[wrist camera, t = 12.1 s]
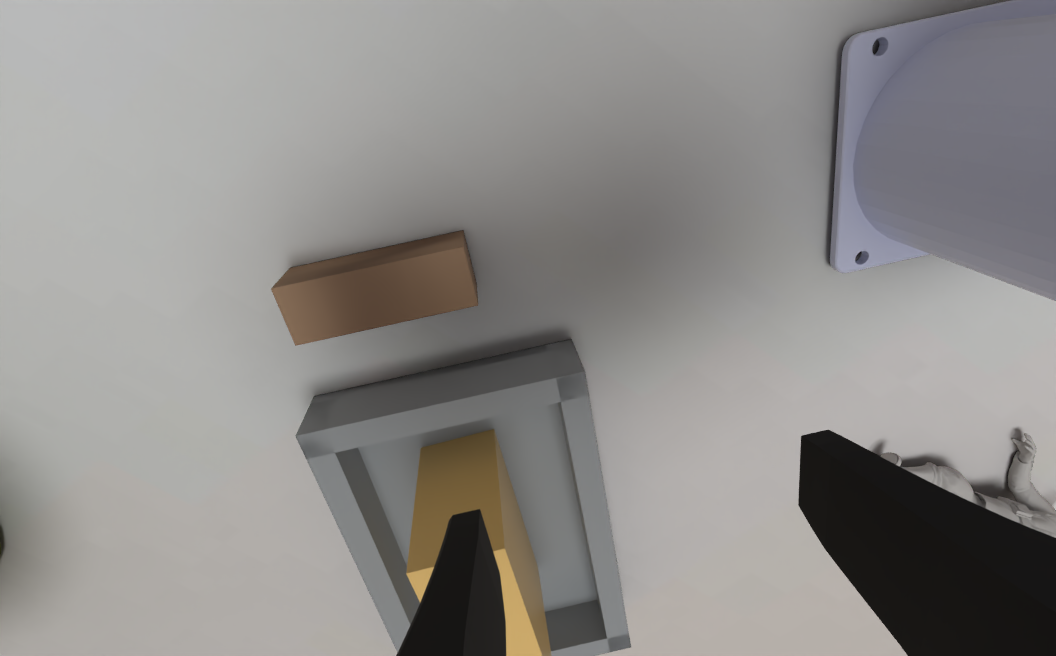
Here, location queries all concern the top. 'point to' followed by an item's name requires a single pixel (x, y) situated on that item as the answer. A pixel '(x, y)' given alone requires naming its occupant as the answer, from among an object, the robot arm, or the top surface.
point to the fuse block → (483, 483)
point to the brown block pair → (377, 288)
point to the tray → (532, 463)
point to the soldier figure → (1024, 511)
